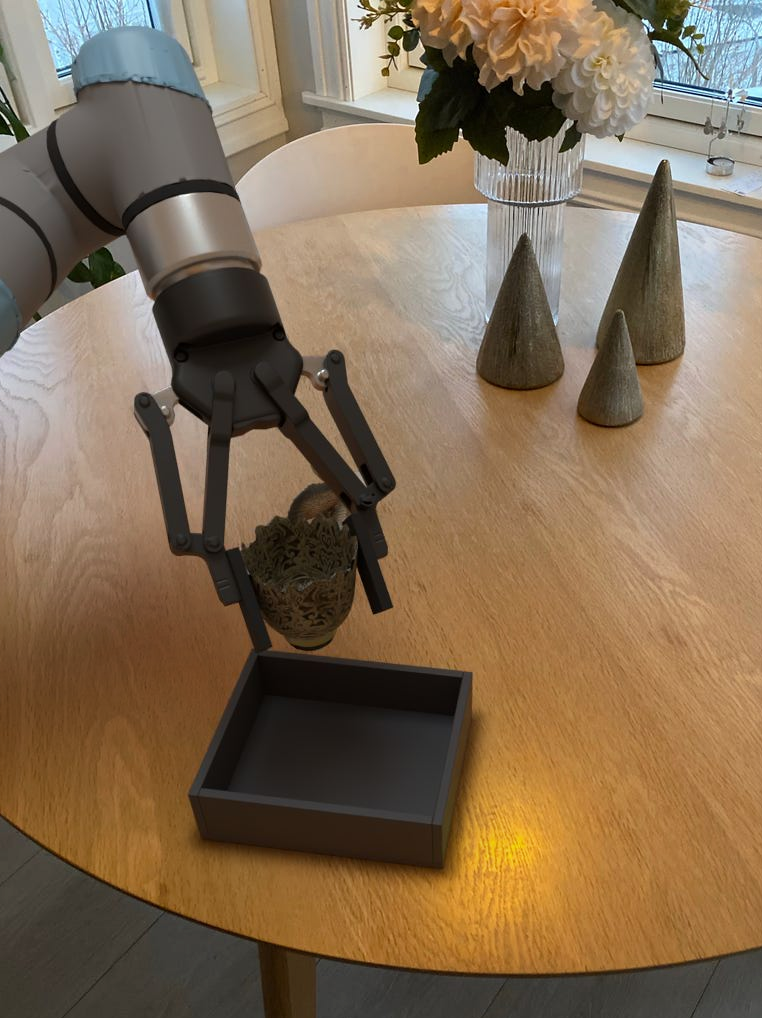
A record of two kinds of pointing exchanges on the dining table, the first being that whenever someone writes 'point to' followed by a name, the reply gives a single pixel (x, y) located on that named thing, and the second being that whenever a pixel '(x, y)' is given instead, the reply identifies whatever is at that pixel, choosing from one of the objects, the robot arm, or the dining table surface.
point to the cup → (303, 577)
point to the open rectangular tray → (337, 758)
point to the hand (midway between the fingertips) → (324, 629)
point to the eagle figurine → (319, 502)
